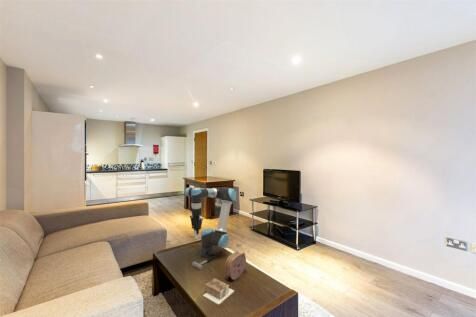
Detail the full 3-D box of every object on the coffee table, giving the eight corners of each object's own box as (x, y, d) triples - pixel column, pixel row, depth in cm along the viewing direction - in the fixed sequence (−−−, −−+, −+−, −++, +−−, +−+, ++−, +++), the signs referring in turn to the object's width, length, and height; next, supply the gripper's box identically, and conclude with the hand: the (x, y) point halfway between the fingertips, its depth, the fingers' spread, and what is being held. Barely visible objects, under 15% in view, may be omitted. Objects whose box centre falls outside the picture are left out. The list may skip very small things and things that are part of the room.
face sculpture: (231, 283, 151) (231, 260, 151) (224, 280, 155) (224, 258, 155) (246, 271, 167) (246, 250, 167) (239, 268, 171) (239, 248, 171)
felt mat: (219, 284, 150) (219, 283, 150) (234, 291, 142) (234, 290, 142) (203, 296, 138) (203, 295, 138) (218, 305, 129) (218, 304, 129)
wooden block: (214, 278, 148) (228, 285, 140) (214, 285, 148) (228, 292, 140) (205, 284, 141) (220, 292, 133) (205, 291, 141) (220, 299, 133)
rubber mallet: (224, 253, 192) (199, 266, 169) (224, 257, 192) (199, 270, 169) (217, 250, 198) (192, 262, 175) (217, 253, 198) (192, 266, 175)
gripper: (187, 207, 162) (187, 237, 162) (198, 210, 154) (198, 241, 154) (194, 205, 168) (194, 234, 168) (205, 208, 160) (205, 238, 160)
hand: (196, 237), depth 161 cm, fingers closed
